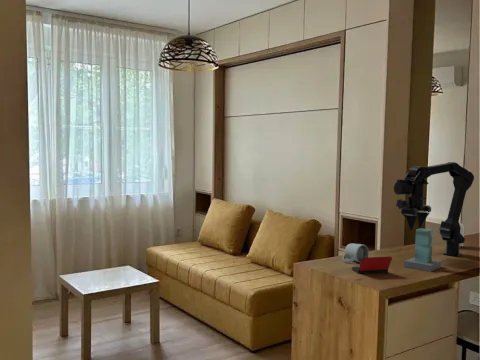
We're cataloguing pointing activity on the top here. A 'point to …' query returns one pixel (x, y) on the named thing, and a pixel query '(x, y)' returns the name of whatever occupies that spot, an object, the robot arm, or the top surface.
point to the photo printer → (462, 232)
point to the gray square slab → (422, 264)
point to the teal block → (423, 245)
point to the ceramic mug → (355, 252)
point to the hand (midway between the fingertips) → (415, 228)
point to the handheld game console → (373, 265)
